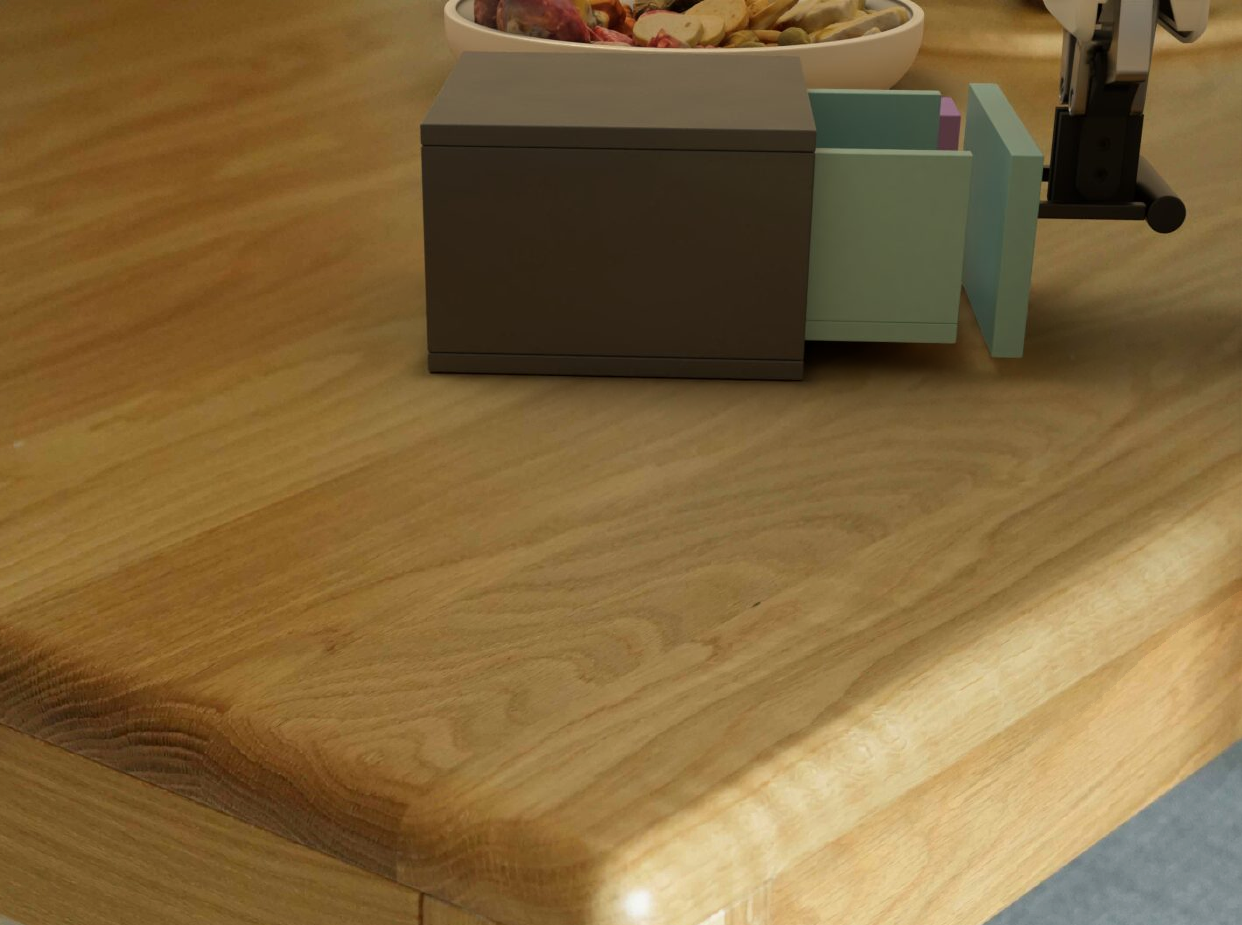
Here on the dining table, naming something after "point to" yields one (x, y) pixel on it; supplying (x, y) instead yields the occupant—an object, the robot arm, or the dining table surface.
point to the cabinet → (618, 215)
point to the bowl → (706, 32)
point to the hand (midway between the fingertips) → (1088, 209)
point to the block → (948, 125)
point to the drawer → (936, 218)
